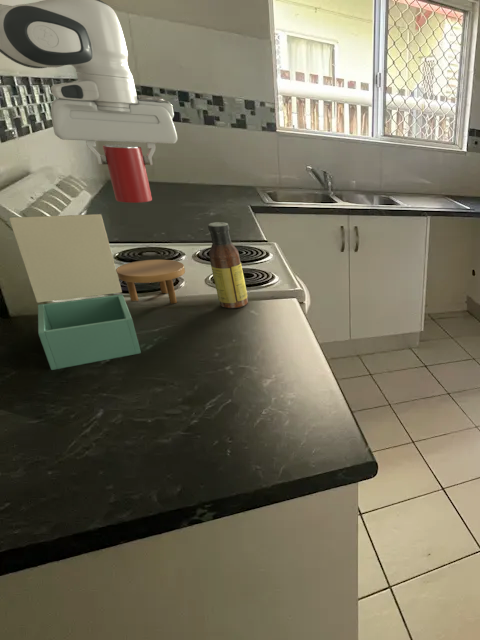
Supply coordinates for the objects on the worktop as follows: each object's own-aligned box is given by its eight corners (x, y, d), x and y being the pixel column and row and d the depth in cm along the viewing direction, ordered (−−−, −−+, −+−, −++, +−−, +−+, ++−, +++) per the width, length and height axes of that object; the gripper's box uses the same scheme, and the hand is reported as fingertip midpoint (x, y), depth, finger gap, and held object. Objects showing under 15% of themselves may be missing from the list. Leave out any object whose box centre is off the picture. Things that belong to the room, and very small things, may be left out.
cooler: (141, 356, 90) (132, 319, 87) (52, 373, 82) (38, 333, 79) (131, 328, 100) (122, 294, 96) (50, 342, 92) (37, 304, 88)
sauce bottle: (244, 298, 120) (233, 219, 111) (251, 307, 116) (240, 225, 107) (215, 302, 116) (200, 221, 107) (221, 311, 112) (206, 227, 103)
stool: (110, 303, 110) (100, 270, 107) (160, 286, 122) (153, 256, 118) (155, 313, 107) (147, 279, 104) (202, 295, 119) (197, 265, 116)
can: (108, 199, 102) (94, 144, 97) (136, 196, 108) (124, 143, 103) (132, 203, 101) (119, 147, 96) (159, 200, 106) (148, 146, 102)
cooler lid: (101, 214, 91) (100, 214, 91) (8, 217, 83) (9, 217, 84) (122, 292, 96) (121, 291, 96) (36, 302, 88) (37, 302, 89)
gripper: (168, 97, 104) (180, 163, 110) (41, 85, 91) (62, 161, 97) (173, 98, 100) (186, 167, 106) (41, 86, 87) (63, 165, 93)
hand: (126, 164), depth 101 cm, fingers closed on can, 6 cm apart
